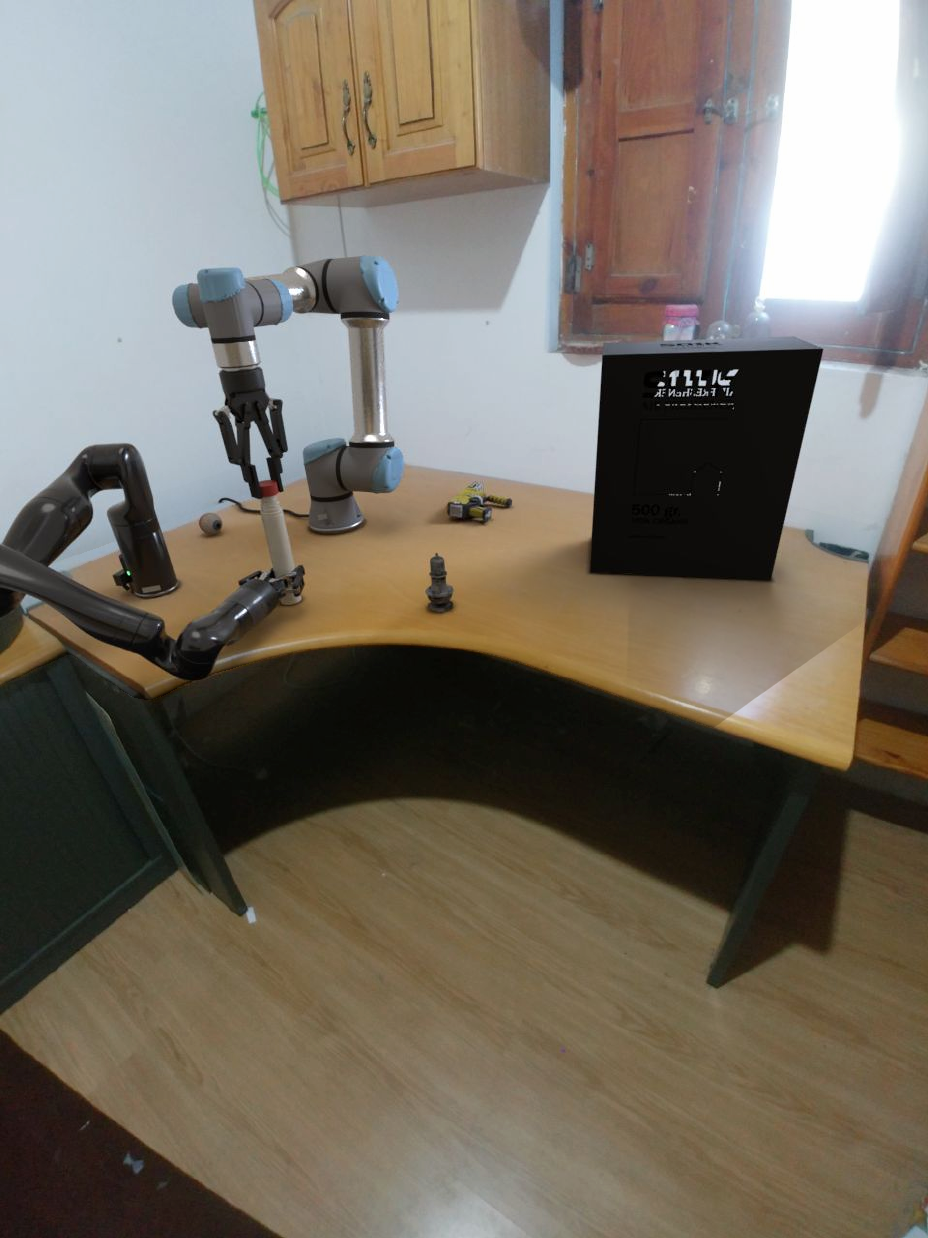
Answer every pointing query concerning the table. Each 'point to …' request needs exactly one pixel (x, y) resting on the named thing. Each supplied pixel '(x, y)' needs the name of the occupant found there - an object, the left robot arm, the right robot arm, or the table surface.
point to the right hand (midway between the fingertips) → (267, 493)
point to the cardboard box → (698, 455)
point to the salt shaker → (439, 586)
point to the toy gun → (474, 503)
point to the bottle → (278, 541)
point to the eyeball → (210, 523)
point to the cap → (268, 488)
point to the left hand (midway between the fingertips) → (291, 568)
